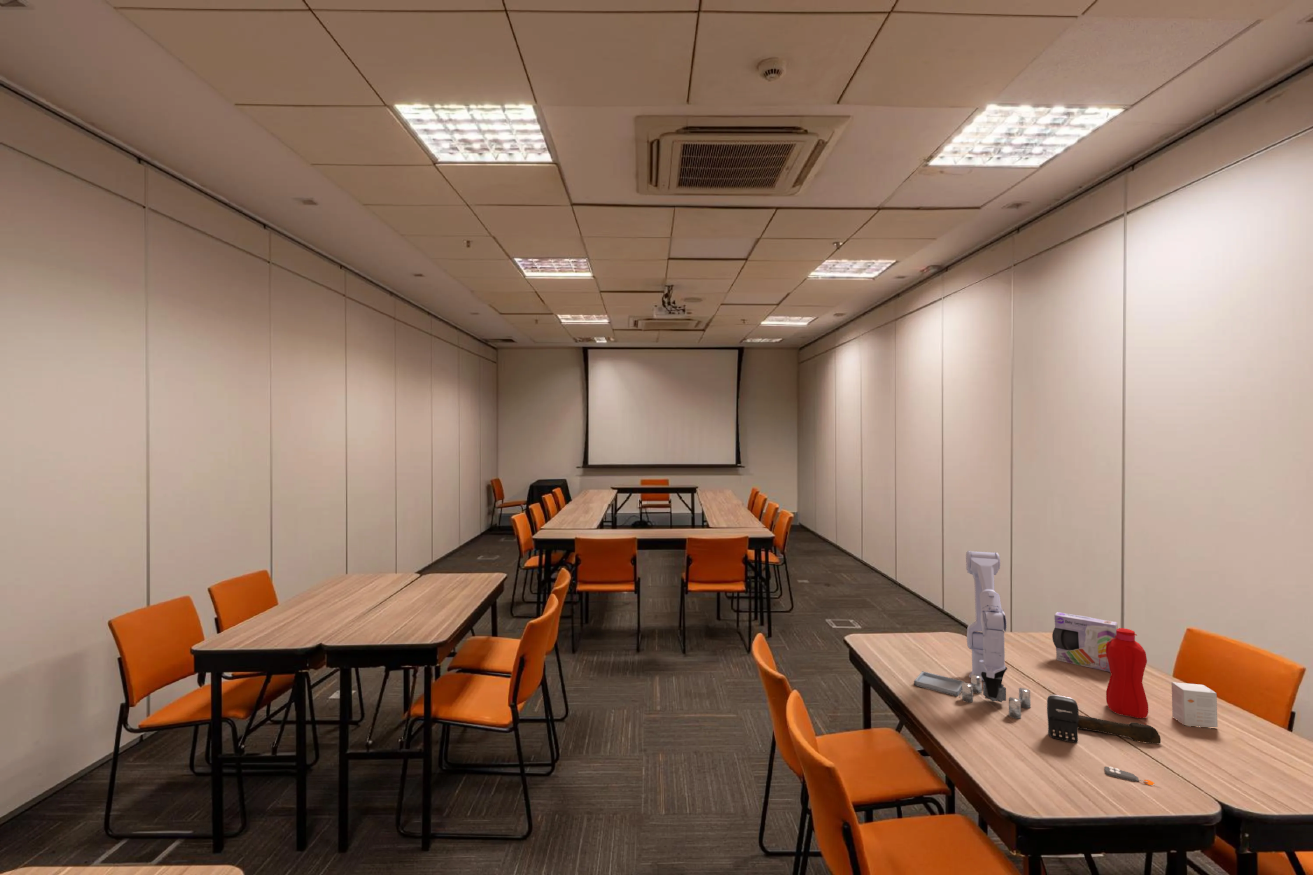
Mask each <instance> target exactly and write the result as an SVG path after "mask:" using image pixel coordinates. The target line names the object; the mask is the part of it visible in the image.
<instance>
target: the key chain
mask: <svg viewBox="0 0 1313 875" xmlns="http://www.w3.org/2000/svg"><path fill="white" fill-rule="evenodd" d="M1104 773H1105V775H1106V776H1109V777H1113V778H1117V779H1122V780H1125V781H1129V782H1130V781H1131V782H1134V783H1135V782H1136V783H1139V782H1143V783H1144V784H1145V785H1147V784H1148V785H1147V786H1150V785H1153V784H1155V782H1154V781H1152V780H1149V779H1144V780H1142V779H1139V777H1138V776H1136V775H1135V774H1134V773H1133V772H1128V771H1125V770H1122V769H1120V768H1117V767H1115V768H1114V767H1113V766H1106V765H1105V766H1104Z"/></svg>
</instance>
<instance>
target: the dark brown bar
mask: <svg viewBox="0 0 1313 875" xmlns="http://www.w3.org/2000/svg"><path fill="white" fill-rule="evenodd" d="M1078 729H1080V730H1089V731H1094V732H1099V733H1100V732H1101V733H1104V734H1110V735H1115V736H1121V737H1126V738H1128V739H1131V740H1132V739H1133V740H1132V741H1134V742H1137V741H1140V742H1139V743H1143V742H1146V744H1157V743H1158V745H1159V744H1161V742H1162V740H1161V739H1162V738H1161V736H1160V734H1159V732H1158V730H1157V729H1156V728H1155V727H1153V726H1152V725H1148V724H1143V723H1140V722H1133V721H1131V722H1130V723H1123V722H1116V721H1111V720H1105V719H1101V718H1096V717H1091V716H1086V715H1080V714H1079V721H1078Z"/></svg>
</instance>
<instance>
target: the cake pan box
mask: <svg viewBox="0 0 1313 875" xmlns="http://www.w3.org/2000/svg"><path fill="white" fill-rule="evenodd" d="M1117 629H1119V628H1118V621H1112V620H1106V619H1101V618H1095V617H1090V616H1086V615H1079V614H1078V615H1077V614H1072V613H1065V612H1060V611H1056V613H1054V629H1053V631H1052V637H1051V638H1052V642H1053V645H1054V647H1055V651H1056V652H1055V653H1056V654H1055V655H1056V656H1055V657H1056V661H1059V662H1063V663H1068V664H1073V665H1077V666H1082V667H1086V668H1091V669H1094V670H1099V671H1105V672H1109V673H1110V668H1109V663H1108V659H1106V645H1105V644H1106V643H1107V642H1108V641H1109V640H1111V639H1112V638H1114V635H1116V630H1117ZM1104 645H1105V646H1104ZM1103 647H1104V648H1103ZM1102 649H1103V651H1102ZM1101 652H1102V654H1101ZM1100 655H1101V657H1100ZM1099 660H1100V664H1099ZM1106 665H1107V667H1106ZM1100 666H1101V667H1100ZM1105 667H1106V668H1105ZM1102 668H1105V669H1102Z"/></svg>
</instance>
